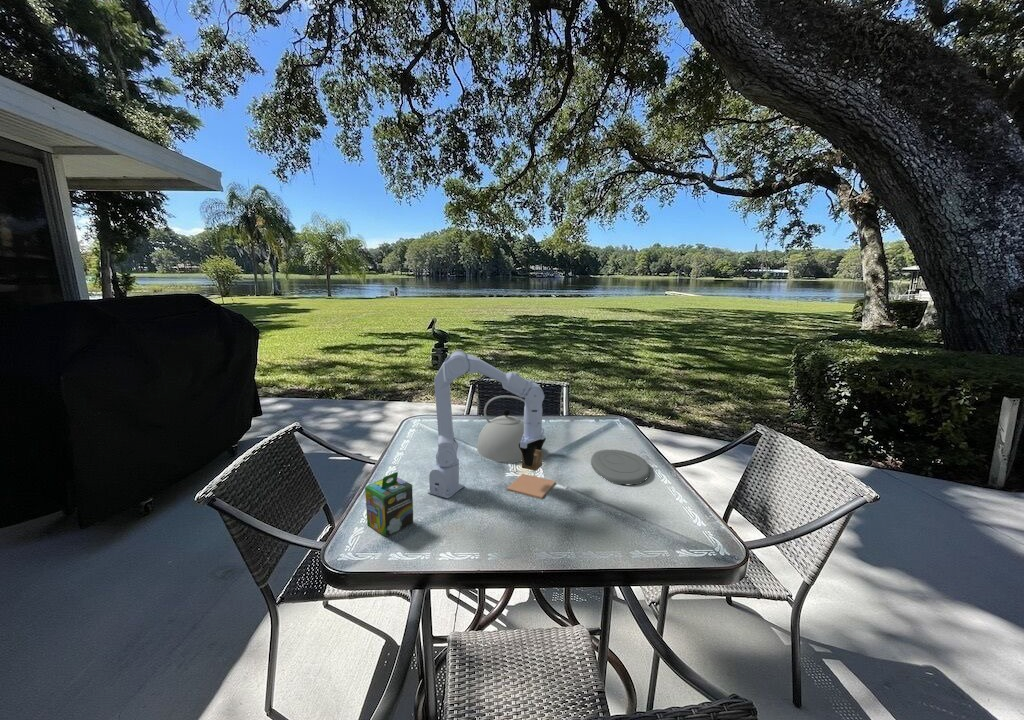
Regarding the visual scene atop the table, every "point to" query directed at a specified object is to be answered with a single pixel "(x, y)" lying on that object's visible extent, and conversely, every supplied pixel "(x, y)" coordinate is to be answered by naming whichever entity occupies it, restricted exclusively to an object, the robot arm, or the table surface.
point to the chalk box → (389, 504)
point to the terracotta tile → (531, 486)
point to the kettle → (501, 437)
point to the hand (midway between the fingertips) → (531, 462)
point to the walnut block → (534, 461)
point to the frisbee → (620, 466)
